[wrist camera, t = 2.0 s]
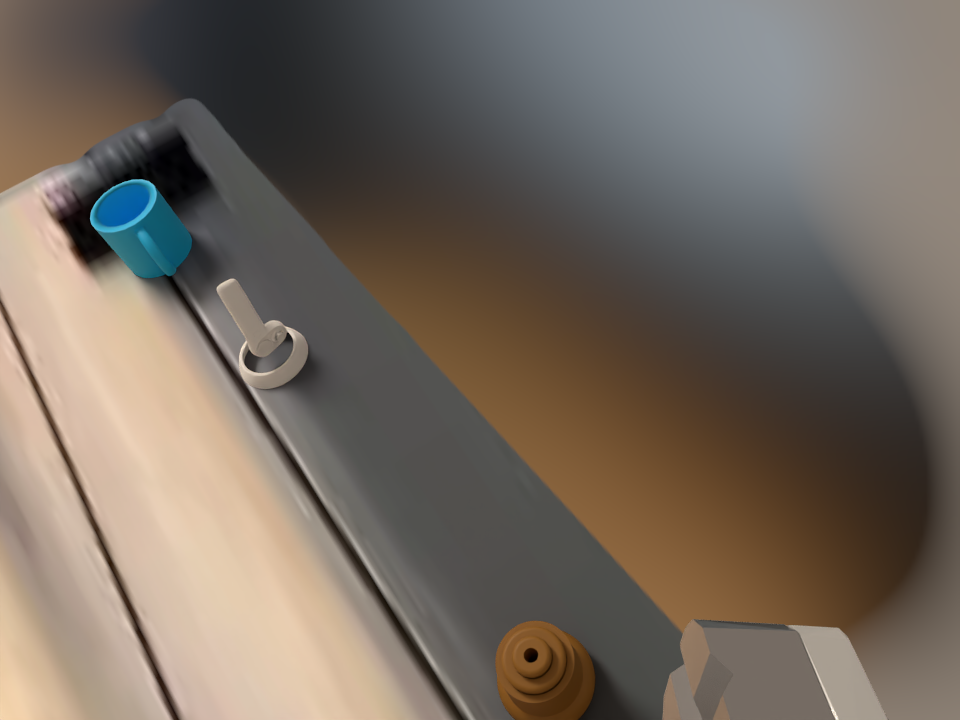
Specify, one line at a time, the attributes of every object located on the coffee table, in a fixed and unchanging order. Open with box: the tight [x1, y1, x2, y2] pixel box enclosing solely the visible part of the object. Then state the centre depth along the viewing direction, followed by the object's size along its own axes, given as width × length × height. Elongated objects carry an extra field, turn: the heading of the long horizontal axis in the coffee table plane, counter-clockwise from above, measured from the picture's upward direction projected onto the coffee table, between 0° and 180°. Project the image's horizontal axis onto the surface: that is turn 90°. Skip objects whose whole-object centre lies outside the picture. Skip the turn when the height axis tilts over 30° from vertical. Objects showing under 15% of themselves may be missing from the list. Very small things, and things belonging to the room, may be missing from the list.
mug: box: [90, 180, 192, 278], centre depth 98 cm, size 12×8×8 cm
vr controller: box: [217, 279, 308, 389], centre depth 88 cm, size 8×12×7 cm
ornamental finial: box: [496, 621, 595, 720], centre depth 62 cm, size 8×8×8 cm
